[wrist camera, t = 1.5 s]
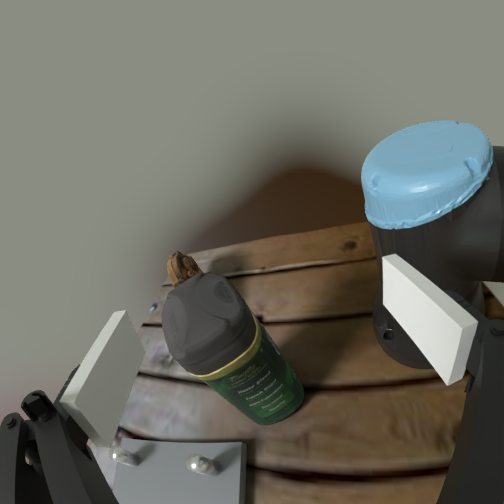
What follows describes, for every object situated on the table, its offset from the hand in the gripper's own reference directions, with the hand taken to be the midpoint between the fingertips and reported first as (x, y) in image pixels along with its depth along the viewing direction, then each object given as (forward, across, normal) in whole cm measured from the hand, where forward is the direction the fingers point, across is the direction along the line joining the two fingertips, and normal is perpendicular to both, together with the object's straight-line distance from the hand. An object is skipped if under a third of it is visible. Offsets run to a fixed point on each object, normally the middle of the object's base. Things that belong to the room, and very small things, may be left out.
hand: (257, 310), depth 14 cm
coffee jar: (+14, -1, -21) cm, 26 cm away
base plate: (+1, -16, -29) cm, 33 cm away
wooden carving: (+35, -10, -17) cm, 40 cm away
